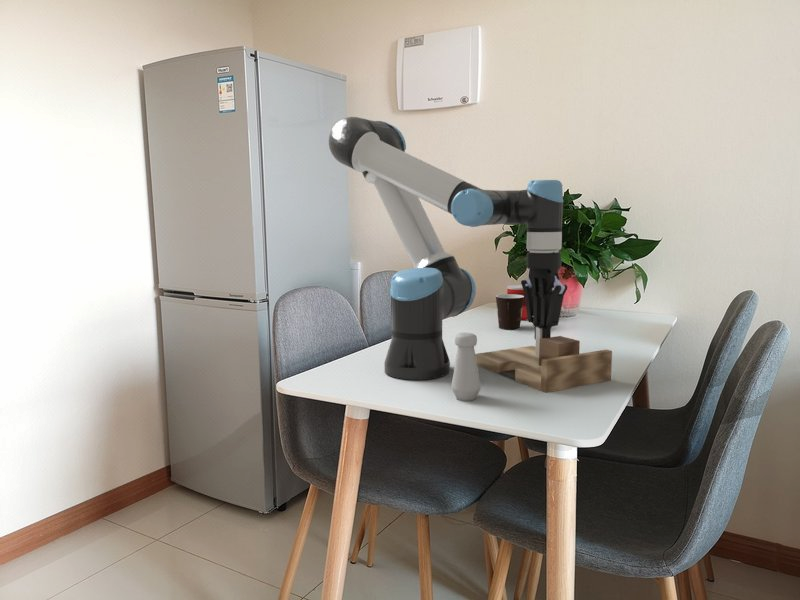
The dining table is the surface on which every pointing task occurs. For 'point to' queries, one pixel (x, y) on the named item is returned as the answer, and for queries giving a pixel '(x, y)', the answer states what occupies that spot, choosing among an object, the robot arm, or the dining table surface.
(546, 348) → the walnut block
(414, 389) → the dining table surface
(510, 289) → the canned food
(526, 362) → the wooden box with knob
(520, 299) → the coffee mug
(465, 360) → the salt shaker
